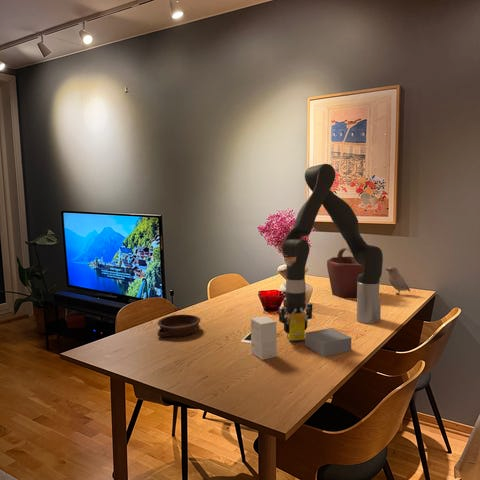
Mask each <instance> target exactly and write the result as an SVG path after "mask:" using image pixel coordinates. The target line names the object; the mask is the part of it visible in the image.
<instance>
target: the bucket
mask: <svg viewBox="0 0 480 480" xmlns="http://www.w3.org/2000/svg"><path fill="white" fill-rule="evenodd" d="M346 250H347V251H348V252H350V253H351V254H352V252H351V250H350V248H349V247H343V248H341V249H339V250H338V251H337V255H336V256H335V257H330V258H328V260H326V268H327V272H328V278H329V283H330V289H331V294H332V296H335V297H337V298H339V299H340V298H341V299H352V300H353V299H354V300H355V299H356V300H357V277H358V275H359V274H362V273H363V272H364V266H363V265H361V264H359V263H357V262H356V260H355V259H354V257H353V256H350V255H349V256H343V254H344V253H345V251H346Z"/></svg>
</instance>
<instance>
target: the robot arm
mask: <svg viewBox="0 0 480 480" xmlns="http://www.w3.org/2000/svg"><path fill="white" fill-rule="evenodd" d="M304 179H305V182H306V185H307V186H308V188H309V189H310V191H311V192H312V193H310V196H309V197H308V198H307V200H306V201H305V202H304V203H303V205H302V206H301V207H300V210H299V211H298V213H297V216H296V219H295V221H294V224H293V226H292V228H291V229H290V230H289V232H288V233H287V235H286V236H285V238H284V239H283V241H282V244H281V251H282V254H283V255H284V256H287V257H292V258H295V261H294V262H290V263H287V264H286V277H285V279H286V281H285V302H286V304H285V306H282V307H281V306H279V307H278V322H280V323H282V324H283V331H284V332H285V333H286V334H287V333H289V319H290V317H289V316H288V313H289V314H290V315H293V314H296V313H303V314H304V315H305V331H307V329H308V320H312V319H313V304H312V303H310V302H306V289H307V287H306V264H307V262H308V257H309V255H310V249H311V248H310V245H309V242H308V241H307V240H306V239H303V237H308V236H310V234H311V233H312V230H313V228H314V225H315V221H316V218H317V216H318V214H319V211H320V209H321V207H322V206H323V208H324V210H325V211H326V212H327V214H328V216H329V217H330V219H331V220H332V222H333V224H334V225H335V227H336V229H337V230H338V232H339V233H340V235H341V236H342V238H343V239H344V241H345V242H346V245H347V246H348V248H350V250H351V252H352V253H351V252H350V253H351V254H352V257H354V259H355V260H356V262H357V263H359V264H361V265H363V266H364V272H363V273H362V274H359V275H358V277H357V299H356V321H358V322H359V323H362V324H377V323H378V322H380V321H381V315H382V314H381V313H382V312H381V311H382V310H381V309H382V308H381V307H382V306H381V305H382V300H381V299H380V281H381V280H380V279H381V278H382V272H383V264H384V263H383V261H384V256H383V252H382V249H381V248H380V247H378V246H375V245H371V244H367V243H366V241H365V240H364V238H363V237H362V235H361V234H360V230H359V229H360V227H359V226H360V225H359V219H358V217H357V215H356V213H355V211H354V210H353V208H352V207H351V206H350V205H349V203H348V202H346V201H345V200H344V199H342V198H341V197H339V196H338V195H337V194H336V193H334V192H333V191H332V190H331V188H332V187H333V185H334V182H335V180H336V171H335V168H334V167H333V166H332V165H331V164H329V163H322V164H317V165H313V166H309V167H308V168H307V169H306V170H305V172H304ZM305 309H306V310H305Z"/></svg>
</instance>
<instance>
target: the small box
mask: <svg viewBox="0 0 480 480" xmlns="http://www.w3.org/2000/svg"><path fill="white" fill-rule="evenodd" d="M250 332H251V344H250V350H251V351H250V352H251V354H253V355H255V356H256V357H257V358H258V359H260V360H263V361H265V360H268V359H271V358H276V357H277V356H278V354H277V353H278V352H277V351H278V350H277V349H278V348H277V347H278V346H277V343H278V340H277V321H275V320H274V319H272V318H270V317H268V316H266V315H262V316H257V317H251V318H250Z"/></svg>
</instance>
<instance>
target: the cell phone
mask: <svg viewBox="0 0 480 480" xmlns="http://www.w3.org/2000/svg"><path fill="white" fill-rule="evenodd" d="M240 343H241V344H242V343H243V344H244V343H245V344H250V343H251V331H250V332H249V333H248V334H247V335H246V336H245V337H243V339H241V341H240Z"/></svg>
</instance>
